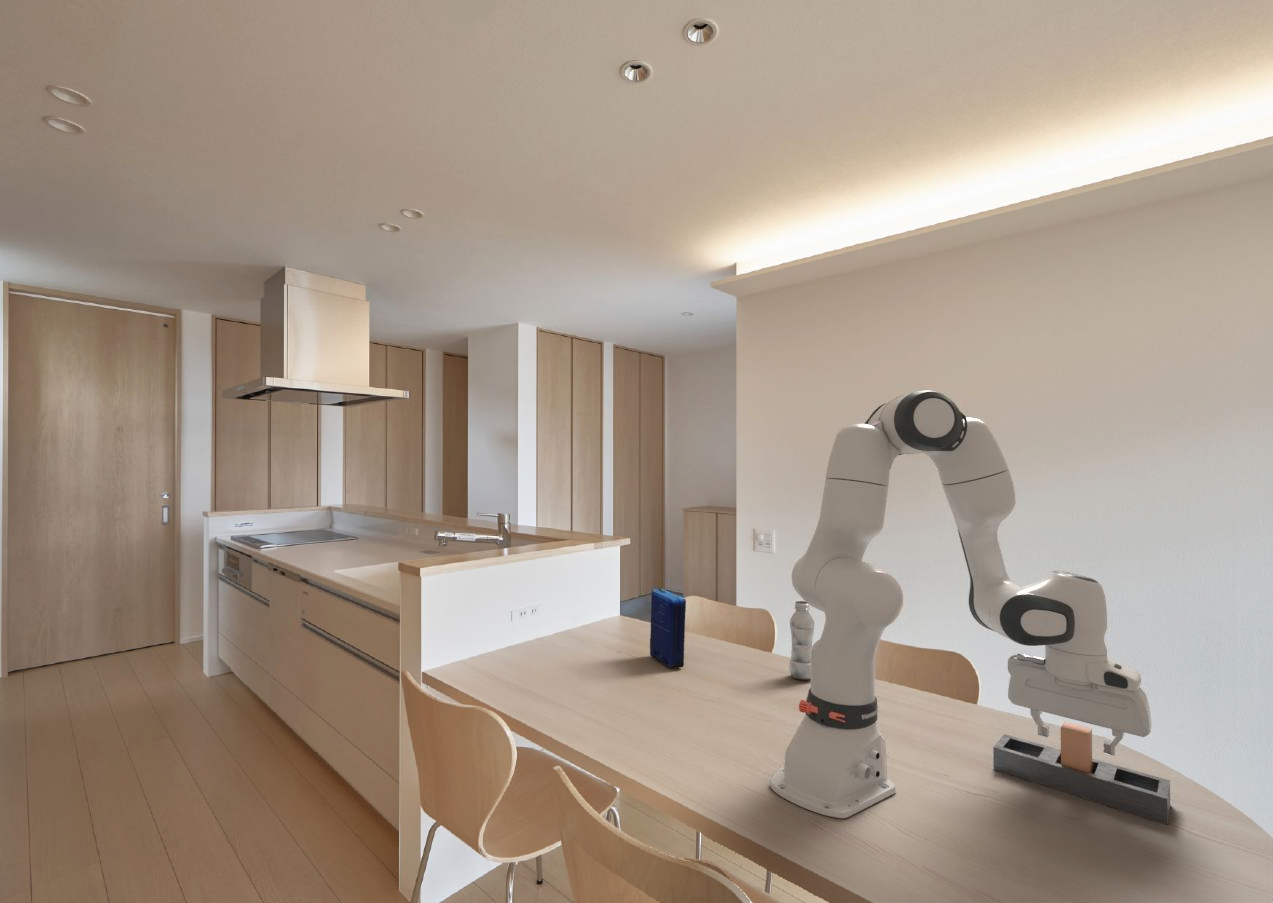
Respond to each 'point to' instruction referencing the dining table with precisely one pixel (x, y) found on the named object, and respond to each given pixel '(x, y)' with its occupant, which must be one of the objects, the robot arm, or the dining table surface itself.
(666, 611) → the blue upright rectangular block
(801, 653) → the plastic bottle
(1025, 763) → the rail
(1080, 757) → the peg
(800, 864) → the dining table surface
